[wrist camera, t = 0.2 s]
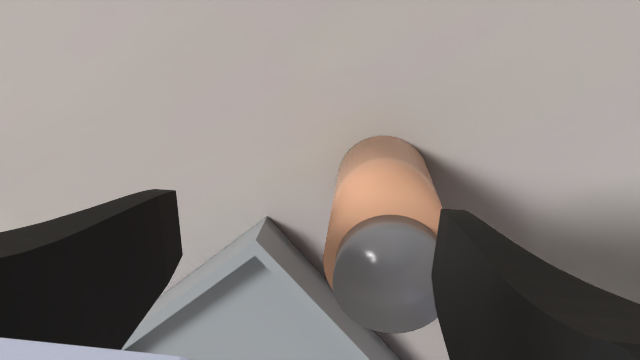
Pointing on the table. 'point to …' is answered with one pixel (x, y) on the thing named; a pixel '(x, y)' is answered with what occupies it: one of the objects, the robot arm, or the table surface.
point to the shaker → (383, 236)
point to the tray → (255, 309)
